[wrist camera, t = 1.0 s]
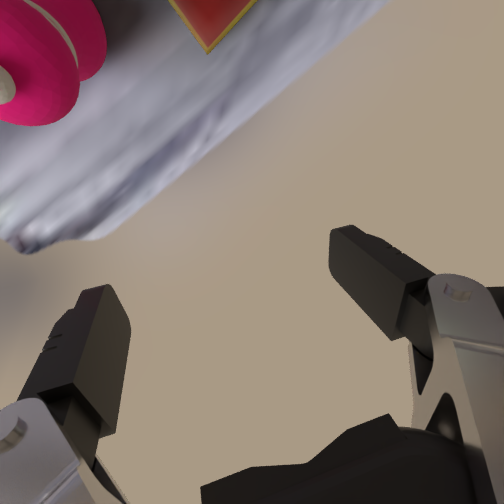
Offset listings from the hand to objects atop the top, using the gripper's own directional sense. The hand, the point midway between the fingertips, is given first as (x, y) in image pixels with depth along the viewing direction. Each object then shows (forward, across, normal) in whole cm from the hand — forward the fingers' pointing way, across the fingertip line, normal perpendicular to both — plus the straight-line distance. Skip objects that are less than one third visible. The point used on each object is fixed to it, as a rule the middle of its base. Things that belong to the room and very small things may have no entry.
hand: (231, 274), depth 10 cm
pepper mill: (+27, +8, -13) cm, 31 cm away
